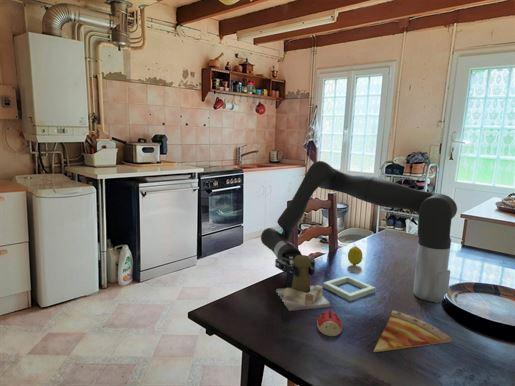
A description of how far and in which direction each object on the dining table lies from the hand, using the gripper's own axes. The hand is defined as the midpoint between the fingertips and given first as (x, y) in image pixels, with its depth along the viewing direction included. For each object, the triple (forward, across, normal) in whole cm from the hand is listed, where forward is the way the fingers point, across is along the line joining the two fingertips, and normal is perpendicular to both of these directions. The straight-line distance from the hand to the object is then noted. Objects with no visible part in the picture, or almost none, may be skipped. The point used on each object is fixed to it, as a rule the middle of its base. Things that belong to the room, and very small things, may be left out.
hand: (305, 273), depth 110 cm
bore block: (-5, +18, +9) cm, 21 cm away
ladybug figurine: (+16, +1, +10) cm, 18 cm away
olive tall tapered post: (-3, 0, +7) cm, 7 cm away
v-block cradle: (-2, 0, +9) cm, 9 cm away
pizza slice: (+20, +18, +10) cm, 29 cm away
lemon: (-25, +31, +10) cm, 41 cm away
